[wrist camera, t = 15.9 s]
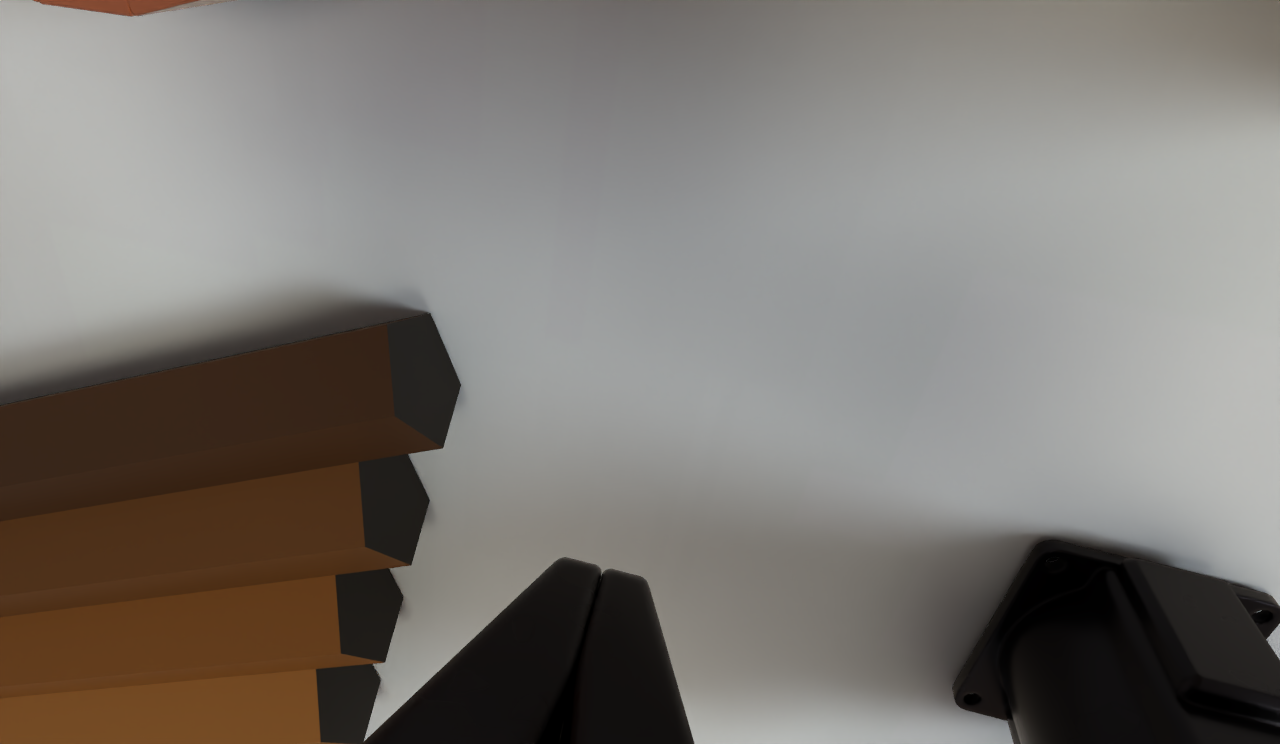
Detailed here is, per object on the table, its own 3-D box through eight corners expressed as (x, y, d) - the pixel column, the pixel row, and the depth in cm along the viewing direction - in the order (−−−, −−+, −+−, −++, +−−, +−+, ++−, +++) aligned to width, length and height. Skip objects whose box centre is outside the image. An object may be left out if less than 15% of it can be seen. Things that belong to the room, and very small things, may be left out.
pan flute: (420, 289, 21) (-236, 435, 28) (362, 349, 19) (-356, 497, 25) (668, 871, 32) (152, 880, 39) (656, 967, 29) (100, 959, 36)
